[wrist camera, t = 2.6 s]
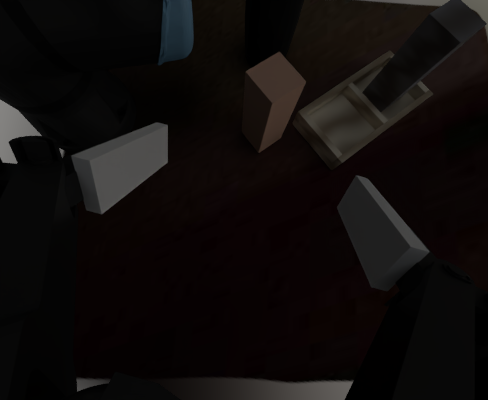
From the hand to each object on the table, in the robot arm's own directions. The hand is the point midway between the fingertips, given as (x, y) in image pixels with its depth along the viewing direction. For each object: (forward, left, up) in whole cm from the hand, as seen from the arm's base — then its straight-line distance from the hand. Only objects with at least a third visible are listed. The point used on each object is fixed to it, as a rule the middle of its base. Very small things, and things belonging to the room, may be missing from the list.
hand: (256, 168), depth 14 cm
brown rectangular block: (-9, +11, -19) cm, 24 cm away
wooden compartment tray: (-2, +28, -19) cm, 34 cm away
